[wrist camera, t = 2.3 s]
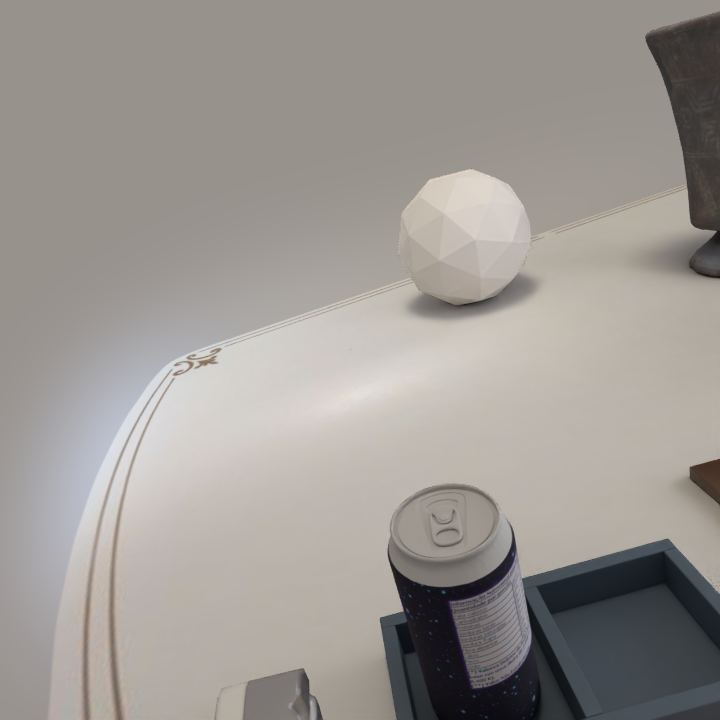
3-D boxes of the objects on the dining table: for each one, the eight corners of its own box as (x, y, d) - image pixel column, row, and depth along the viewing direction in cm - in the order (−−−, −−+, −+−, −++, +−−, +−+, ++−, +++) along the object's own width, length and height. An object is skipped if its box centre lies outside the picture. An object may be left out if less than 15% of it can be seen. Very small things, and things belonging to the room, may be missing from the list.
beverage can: (526, 641, 31) (494, 468, 27) (558, 746, 26) (525, 553, 21) (427, 657, 32) (379, 490, 27) (439, 763, 27) (382, 578, 22)
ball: (513, 329, 88) (586, 221, 76) (411, 333, 78) (476, 208, 66) (454, 258, 100) (509, 154, 87) (359, 254, 90) (405, 134, 77)
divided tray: (794, 723, 25) (798, 679, 24) (422, 826, 25) (408, 787, 24) (669, 575, 33) (667, 537, 32) (390, 652, 33) (379, 617, 32)
